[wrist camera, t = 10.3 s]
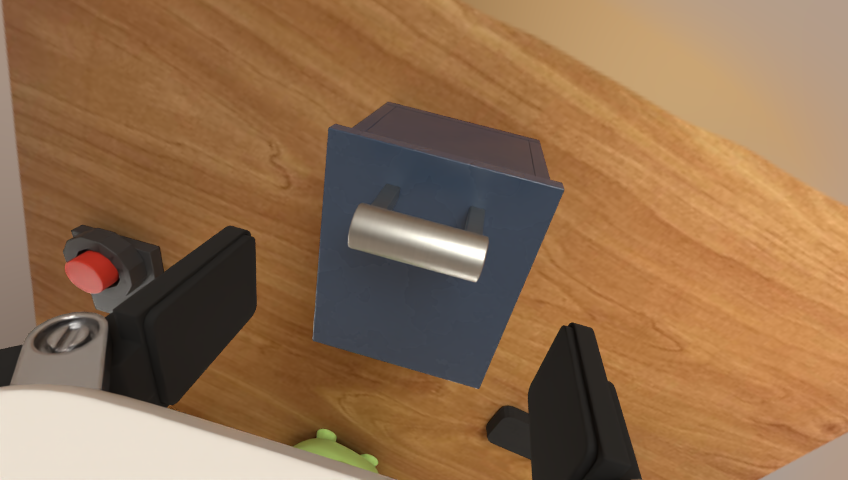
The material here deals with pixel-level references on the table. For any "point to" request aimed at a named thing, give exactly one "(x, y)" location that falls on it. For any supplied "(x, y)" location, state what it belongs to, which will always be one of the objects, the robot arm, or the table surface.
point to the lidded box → (457, 138)
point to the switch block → (117, 262)
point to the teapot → (337, 451)
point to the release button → (91, 272)
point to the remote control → (510, 430)
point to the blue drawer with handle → (423, 253)
